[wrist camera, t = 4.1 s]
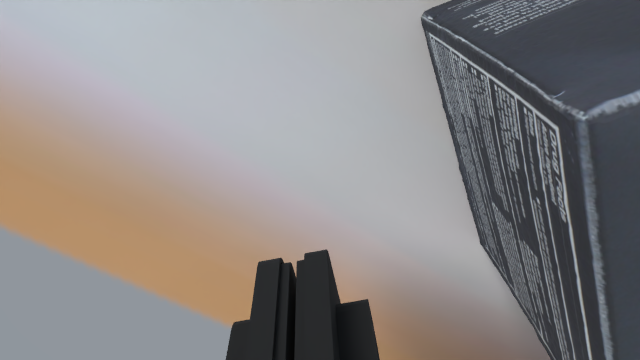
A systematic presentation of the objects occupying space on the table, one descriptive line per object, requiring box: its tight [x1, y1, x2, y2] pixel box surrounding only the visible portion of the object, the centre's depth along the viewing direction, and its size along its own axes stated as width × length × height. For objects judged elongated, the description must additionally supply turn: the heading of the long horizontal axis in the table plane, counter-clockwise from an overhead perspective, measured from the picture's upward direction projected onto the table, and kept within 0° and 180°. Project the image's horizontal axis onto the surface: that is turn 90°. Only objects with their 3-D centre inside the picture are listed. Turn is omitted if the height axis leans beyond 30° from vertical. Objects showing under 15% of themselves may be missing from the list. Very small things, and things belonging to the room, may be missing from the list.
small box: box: [421, 0, 640, 360], centre depth 13 cm, size 11×6×10 cm, turn 21°
